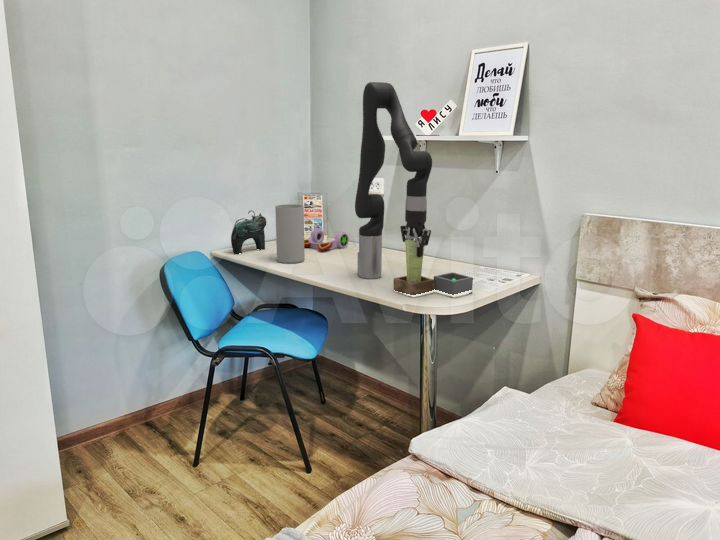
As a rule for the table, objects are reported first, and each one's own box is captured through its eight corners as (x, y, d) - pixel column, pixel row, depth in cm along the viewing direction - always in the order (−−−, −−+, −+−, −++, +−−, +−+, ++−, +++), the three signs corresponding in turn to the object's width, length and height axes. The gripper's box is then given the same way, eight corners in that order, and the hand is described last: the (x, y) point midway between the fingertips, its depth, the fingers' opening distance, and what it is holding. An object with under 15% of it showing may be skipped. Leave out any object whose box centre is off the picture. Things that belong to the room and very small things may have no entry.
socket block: (432, 292, 207) (433, 273, 205) (451, 287, 213) (452, 269, 211) (453, 298, 199) (454, 279, 197) (472, 293, 205) (473, 274, 203)
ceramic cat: (262, 247, 286) (260, 208, 281) (270, 249, 281) (268, 209, 277) (229, 253, 271) (227, 212, 266) (238, 255, 267) (236, 213, 262)
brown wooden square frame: (393, 291, 207) (393, 278, 206) (414, 286, 214) (414, 274, 212) (413, 297, 199) (413, 284, 198) (434, 292, 206) (434, 279, 204)
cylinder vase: (274, 258, 260) (273, 204, 254) (301, 257, 264) (300, 204, 258) (279, 264, 249) (278, 208, 243) (307, 262, 252) (306, 207, 246)
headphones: (349, 232, 287) (324, 232, 271) (348, 251, 288) (322, 252, 273) (321, 228, 299) (294, 228, 283) (319, 246, 300) (293, 247, 284)
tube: (412, 289, 210) (414, 237, 206) (423, 291, 207) (425, 239, 202) (403, 292, 206) (404, 239, 202) (414, 295, 203) (416, 241, 198)
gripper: (394, 207, 202) (393, 253, 206) (422, 211, 191) (420, 260, 196) (410, 205, 207) (408, 251, 211) (438, 210, 196) (436, 257, 200)
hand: (414, 255), depth 203 cm, fingers closed on tube, 4 cm apart
